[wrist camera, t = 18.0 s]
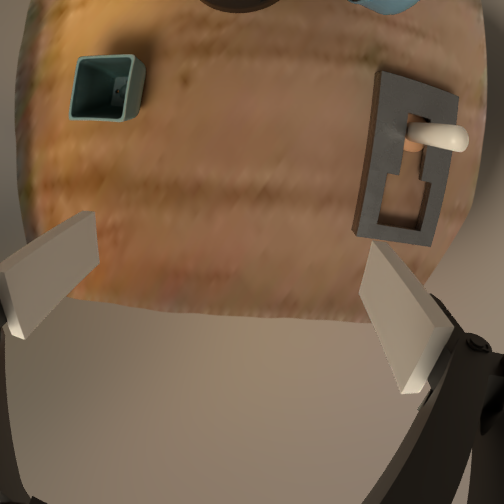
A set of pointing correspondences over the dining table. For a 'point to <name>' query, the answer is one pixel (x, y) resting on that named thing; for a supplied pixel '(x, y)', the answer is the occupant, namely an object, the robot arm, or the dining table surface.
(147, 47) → the dining table surface
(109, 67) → the flower pot
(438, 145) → the peg
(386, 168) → the keyhole plate
